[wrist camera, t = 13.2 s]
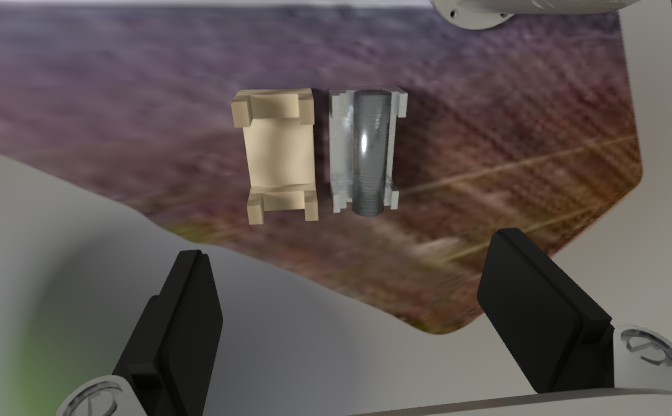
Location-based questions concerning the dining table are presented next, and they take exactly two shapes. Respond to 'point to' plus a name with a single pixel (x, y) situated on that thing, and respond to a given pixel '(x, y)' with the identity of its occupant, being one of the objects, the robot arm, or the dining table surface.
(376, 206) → the steel axle
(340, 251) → the dining table surface
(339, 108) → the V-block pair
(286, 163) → the bearing cradle
